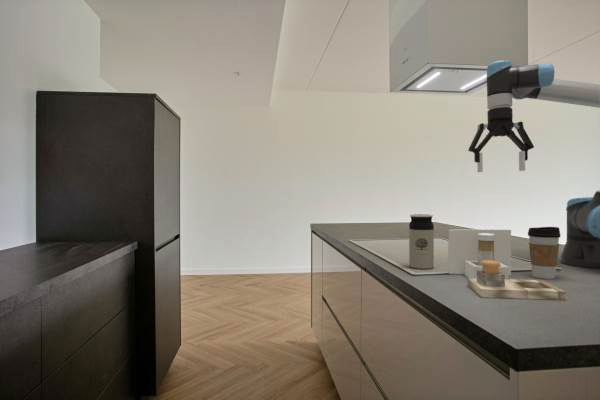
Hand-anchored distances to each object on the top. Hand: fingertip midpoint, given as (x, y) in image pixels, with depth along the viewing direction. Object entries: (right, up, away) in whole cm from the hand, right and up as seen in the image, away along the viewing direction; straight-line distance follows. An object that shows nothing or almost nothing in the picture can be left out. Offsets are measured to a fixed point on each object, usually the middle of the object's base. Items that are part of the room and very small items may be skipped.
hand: (501, 171), depth 131 cm
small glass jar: (-19, -31, -31) cm, 47 cm away
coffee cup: (+5, -33, -14) cm, 36 cm away
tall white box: (-13, -33, -15) cm, 39 cm away
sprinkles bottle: (-13, -33, -16) cm, 39 cm away
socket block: (-13, -33, -32) cm, 48 cm away
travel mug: (-26, -33, +2) cm, 42 cm away
